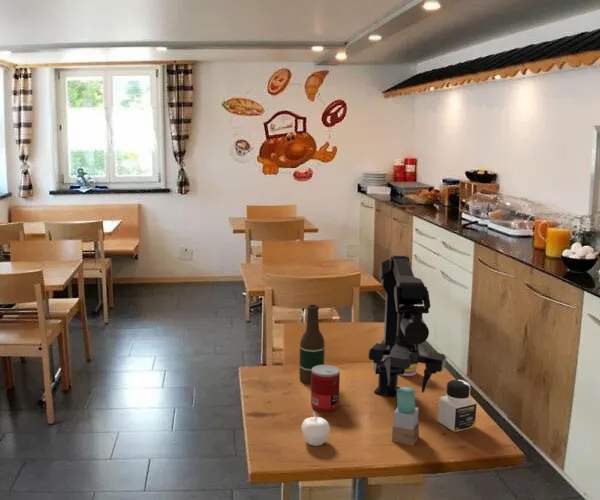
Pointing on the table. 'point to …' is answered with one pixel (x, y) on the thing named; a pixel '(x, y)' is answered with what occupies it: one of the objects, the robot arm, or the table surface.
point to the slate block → (405, 419)
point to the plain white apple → (315, 430)
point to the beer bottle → (311, 346)
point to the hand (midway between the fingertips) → (405, 388)
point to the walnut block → (405, 435)
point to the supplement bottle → (410, 370)
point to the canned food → (325, 387)
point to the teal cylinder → (406, 399)
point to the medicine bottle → (457, 407)
